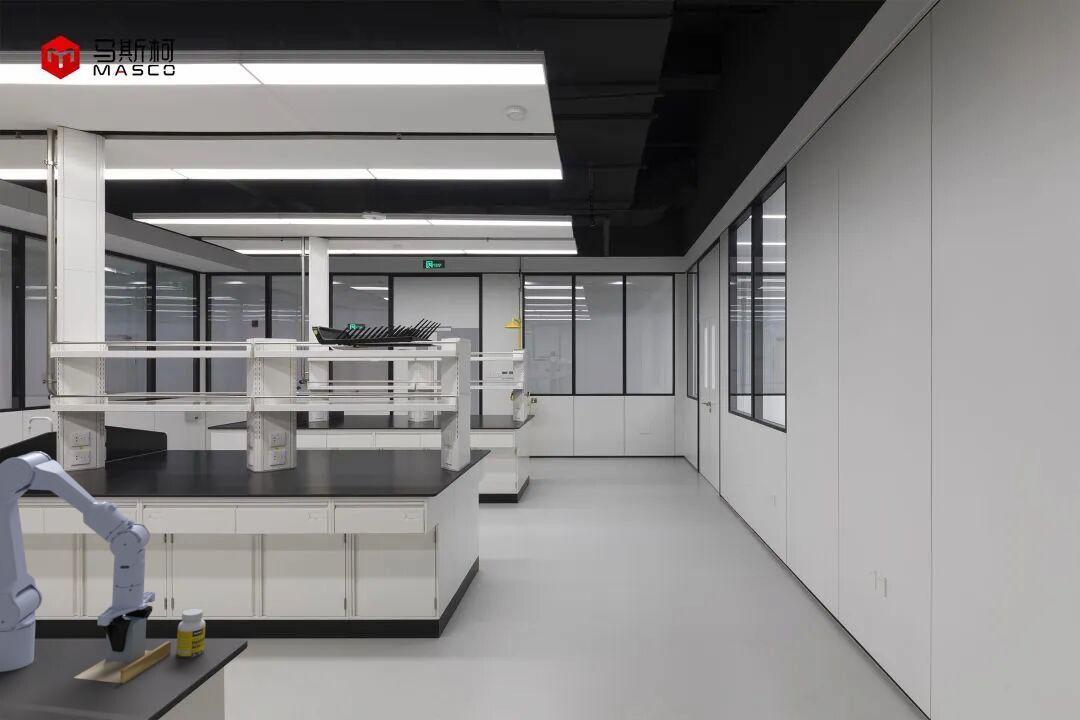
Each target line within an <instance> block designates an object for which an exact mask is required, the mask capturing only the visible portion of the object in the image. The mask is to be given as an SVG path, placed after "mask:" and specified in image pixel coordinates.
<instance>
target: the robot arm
mask: <svg viewBox="0 0 1080 720" xmlns="http://www.w3.org/2000/svg"><path fill="white" fill-rule="evenodd" d="M29 490H33V491H34V490H37V491H39V490H40V491H51V492H52V493H54V495H56V496H58V497H59V498H60V499H62V500H64V501H65V502H66V503H68V504H69V505H70V506H71V507H72V508H75V509H76V510H77V511H79V512H80V513H81V514H82V521H83V523H84V524H85V525H86V527H88V528H90V529H91V530H92V531H93V532H95V533H96V534H97V535H98V536H99V537H100V538H102V540H105V541H106V542H107V543H109V550H110V552H111V554H112V555H113V556H114V562H113V575H112V576H113V577H112V578H113V579H112V596H111V597H112V599H111V600H112V601H111V604H110V606H109V607H107V608H106V609H105V610H104V611H103V612H102V613H101V614H98V615H97V626H102V628H103V629H104V631H105V633H107V635H108V637H109V640H110V643H111V647H112V651H113V652H122V651H123V650H124V647H125V640H126V634H127V630H128V627H129V625H130V623H131V621H132V620H126V619H124V618H123V616H130V617H140V618H146V622H147V621H148V619H149V617H150V615H151V613H152V612H153V606H152V605H148V603H154V602H155V601H156V591H155V592H154V591H146V592H144V591H145V575H146V573H145V570H146V568H145V567H146V548H145V547H146V545H147V544H148V543H149V541H150V539H151V538H150V537H151V535H150V532H149V529H148V528H146V526H145V524H143V523H140V522H136V521H135V520H134V519H132V518H131V519H129V518H128V517H127V516H125V514H123V513H122V512H121V511H120V510H119V509H118V507H119V506H118V505H117V504H116V503H115V502H112V503H110V502H108V501H99V500H97V499H95V498H94V497H93V495H91V494H90V493H89V492H88V491H87V490H86V489H85V488H84V487H83V486H81V485H80V484H79V483H78V482H77V481H76V480H75V479H74V478H73V477H71V475H69V473H68V472H66V471H65V470H64V468H63V467H62V466H61V464H60V463H59V462H58V461H56V460H55V459H52V458H51V456H50V455H49V454H47V453H45V452H43V451H37V450H36V451H31V452H28V453H26V454H22V455H19V456H16V457H10V458H7V459H5V460H3V461H2V462H1V463H0V673H1V672H10V671H14V670H18V669H22V668H25V667H27V666H29V665H30V664H32V663H33V662H34V660H35V643H36V642H35V639H36V637H35V636H36V616H35V615H36V611H37V610H38V609H39V607H40V606H41V604H42V601H43V594H42V592H41V590H40V589H39V588H38V586H37V585H36V581H35V578H34V577H33V576H32V575H31V574H30V573H29V572H28V568H27V561H26V554H25V546H24V537H23V531H22V524H21V523H22V522H21V517H20V508H19V503H18V501H19V499H20V498H21V497H22V496H23V495H24V494H25V493H26V492H27V491H29Z"/></svg>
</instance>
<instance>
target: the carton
mask: <svg viewBox="0 0 1080 720" xmlns="http://www.w3.org/2000/svg"><path fill="white" fill-rule="evenodd" d="M123 618H124V619H126V620H132V621H131V623H130V625H129V627H128V630H127V634H126V640H125V647H124V650H123V651H122V652H113V651H112V647H111V643H110V640H109V637H108V635H107V633H106V632H105V633H106V635H105V637H106V638H105V639H106V640H105V659H104V660H105V661H115V662H125V663H133V662H134V661H136V660H138V659H139V658H141V657H142V656H144V655H145V650H146V639H147V638H146V635H147V633H146V632H147V621H146V618H140V617H130V616H125V615H123Z"/></svg>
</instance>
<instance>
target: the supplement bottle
mask: <svg viewBox="0 0 1080 720" xmlns="http://www.w3.org/2000/svg"><path fill="white" fill-rule="evenodd" d="M203 615H204V613H203V609H201V608H190V609H186V610H183V612H182V616H181V620H182V621H180V622H179V624H178V626H177V635H176V637H177V638H176V654H175V655H176V657H177V658H179V659H191V658H195V657H199V656H201V655H202V654H203V653H205V652H204V651H205V641H206V639H205V638H206V637H205V636H206V621H205V620H204V619H203Z"/></svg>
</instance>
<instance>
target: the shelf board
mask: <svg viewBox="0 0 1080 720" xmlns="http://www.w3.org/2000/svg"><path fill="white" fill-rule="evenodd" d="M171 648H172V641H170V640H167V641H165V642H164V643H162V644H161V645H159V646H157V647H156V648H154V649H152V650H146V649H145V655H144V656H142V657H141V658H139V659H138V660H136V661H134V662H133V663H125V662H115V661H105V659H103V660H101V661H99V662H98V663H96V664H94V665H93V666H91V667H89V668H87V669H85V670H84V671H82V672H81V673H79V674H77V675H75V676H74V677H73V679H80V680H88V681H98V682H106V683H107V682H108V683H116V684H125V683H127V682H129V681H131V679H133V678H134V677H137V675H139V674H140V673H143V671H145V670H146V669H148V668H150V667H152V666H153V665H154V664H156V663H157V662H159V661H160V660H162V659H164V658H165V657H166V656H168V655H170V654H171V651H172V649H171Z"/></svg>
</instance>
